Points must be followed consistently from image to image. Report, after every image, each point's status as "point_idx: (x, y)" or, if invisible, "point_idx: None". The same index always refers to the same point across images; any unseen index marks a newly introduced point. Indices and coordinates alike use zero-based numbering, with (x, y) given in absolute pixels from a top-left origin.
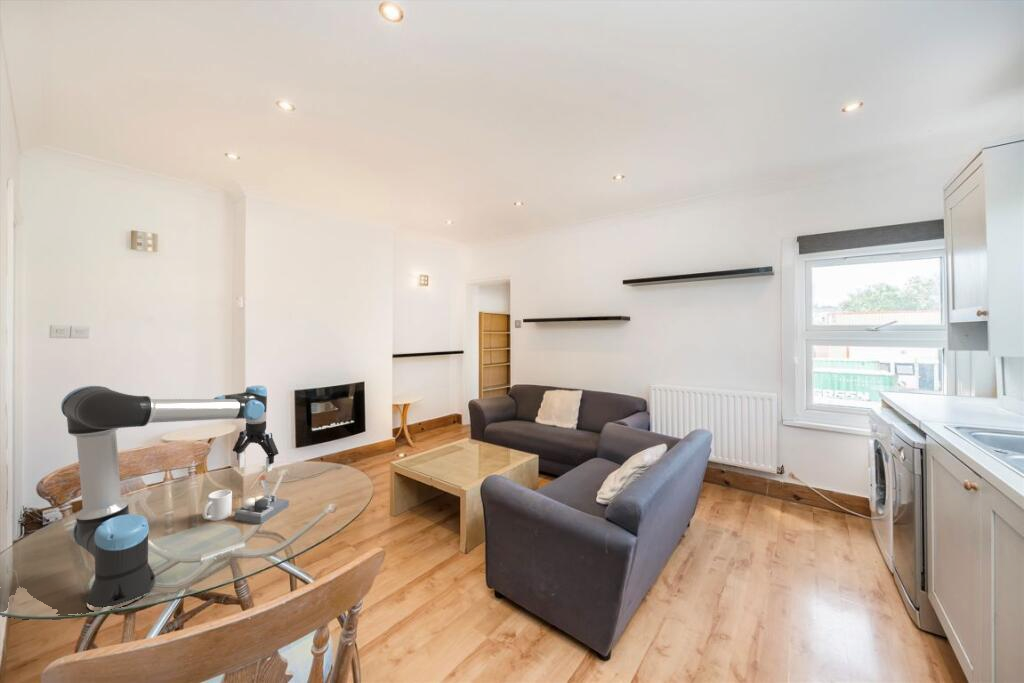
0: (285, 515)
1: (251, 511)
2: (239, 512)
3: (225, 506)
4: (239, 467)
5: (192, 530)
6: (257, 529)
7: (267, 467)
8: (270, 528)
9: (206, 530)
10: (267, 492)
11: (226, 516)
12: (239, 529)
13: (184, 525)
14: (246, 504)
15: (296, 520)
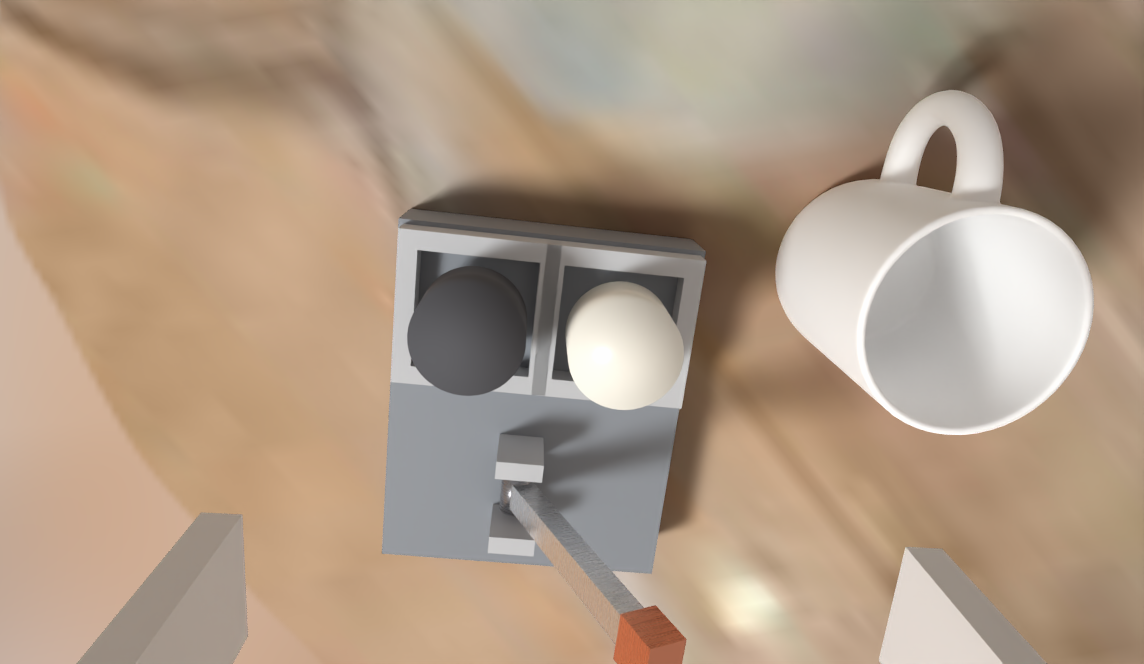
0: (307, 379)
1: (540, 270)
2: (657, 252)
3: (823, 256)
4: (921, 559)
5: (927, 6)
6: (371, 119)
7: (154, 577)
8: (269, 155)
9: (806, 27)
10: (545, 531)
11: (782, 247)
12: (530, 92)
13: (1054, 74)
14: (610, 295)
15: (146, 320)
